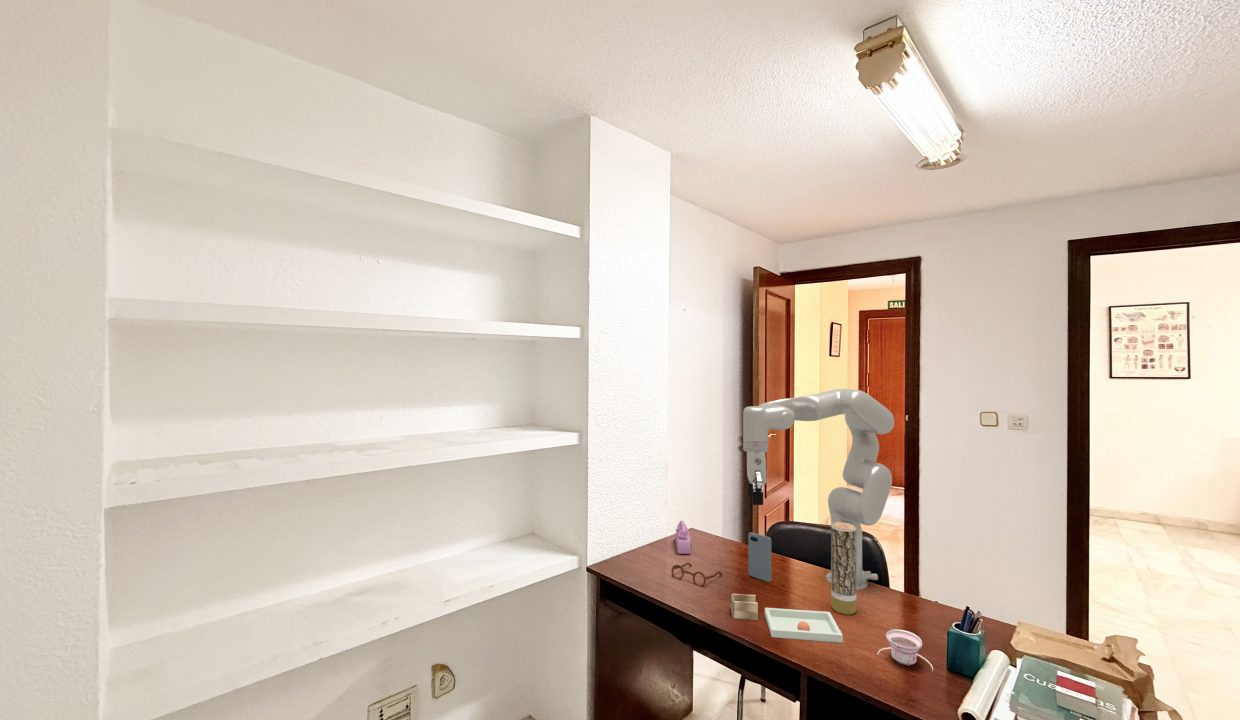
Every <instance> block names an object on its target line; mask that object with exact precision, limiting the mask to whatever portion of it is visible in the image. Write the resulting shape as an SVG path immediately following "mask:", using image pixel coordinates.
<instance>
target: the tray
mask: <svg viewBox="0 0 1240 720" xmlns="http://www.w3.org/2000/svg"><path fill="white" fill-rule="evenodd" d="M764 617H765V620H766V624H767V628H768V630H769V633H770V637H771V638H776V639H778V638H779V639H787V640H788V639H789V640H800V641H801V640H802V641H814V642H822V643H823V642H824V643H837V644H843V642H844V641H843V640H844V637H843V636H844V635H843V633H842V631H841V629H840V628H839V626H838V624H837V622H836V620H835V619H834V617H833V615H832V613H831V612H830V611H821V610H820V611H819V610H807V609H805V610H804V609H803V610H802V609H790V608H777V607H776V608H775V607H764ZM801 621H804V622H806V623H808V625H809V626H810V631H805V630H798V628H797V626H798V623H799V622H801Z"/></svg>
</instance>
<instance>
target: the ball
mask: <svg viewBox="0 0 1240 720" xmlns="http://www.w3.org/2000/svg"><path fill="white" fill-rule="evenodd" d="M797 628H798V630H805V631H810V626H809V625H808V623H806V622H804V621H801V622H799V623H798V626H797Z"/></svg>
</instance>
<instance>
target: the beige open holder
mask: <svg viewBox="0 0 1240 720" xmlns="http://www.w3.org/2000/svg"><path fill="white" fill-rule="evenodd" d="M756 597H757V596H756V594H743V593H731V594H730V611H731V618H732V619H735V620H736V619H737V620H748V619H749V620H753V621H758V620H759V613H758V612H759V604H758V602H757V601H756V600H757V599H756Z"/></svg>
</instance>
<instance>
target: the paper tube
mask: <svg viewBox="0 0 1240 720" xmlns="http://www.w3.org/2000/svg"><path fill="white" fill-rule="evenodd" d="M831 525H832V526H831ZM831 525H830V530H831V532H830V539H831V540H830V544H831V545H830V547H831V548H830V554H831V555H830V566H831V567H830V572H831V583H830V587H831V588H830V590H831V591H830V592H831V593H830V594H831V604H830V606H831V608H832V610H834V611H835V612H837V613H839V614H841V615H846V616H847V615H853V614H855V613H856V612H857V590H856V526H854V525H852V524H849V523H843V522H835V523H832V524H831Z"/></svg>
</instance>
